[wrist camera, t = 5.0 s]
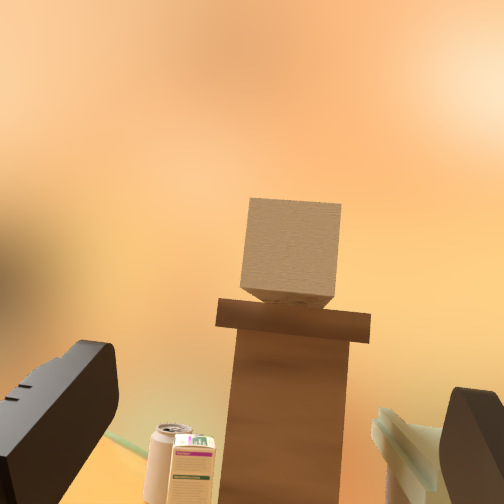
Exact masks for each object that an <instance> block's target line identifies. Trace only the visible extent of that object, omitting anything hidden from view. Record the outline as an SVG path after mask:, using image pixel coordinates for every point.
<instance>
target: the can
mask: <svg viewBox="0 0 504 504" xmlns="http://www.w3.org/2000/svg"><path fill="white" fill-rule="evenodd" d="M156 429H157V430H156V431H155V432H154V433H153V434H152V435H151V440H150V447H149V454H148V461H147V469H146V476H145V483H144V490H143V499H144V500H145V501H146V502H147V504H166V499H167V491H168V483H169V474H170V466H171V457H172V449H173V442H174V438H175V435H176V434H192V431H193V429H192V428H191V427H190V426H187V425H183V424H176V423H164V424H160V425H158V426H157V427H156Z"/></svg>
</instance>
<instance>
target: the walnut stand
mask: <svg viewBox="0 0 504 504" xmlns="http://www.w3.org/2000/svg"><path fill="white" fill-rule="evenodd" d="M370 321H371V314H367V313H358V312H348V311H338V310H328V309H319V308H309V307H299V306H290V305H280V304H270V303H261V302H251V301H241V300H232V299H221V298H219V300H218V308H217V316H216V324H215V326H217V327H218V326H219V327H226V328H235V329H237V337H236V346H235V355H234V364H233V373H232V381H231V390H230V399H229V408H228V417H227V426H226V435H225V444H224V453H223V462H222V471H221V479H220V488H219V497H218V504H338V502H339V488H340V473H341V459H342V444H343V430H344V415H345V401H346V386H347V372H348V357H349V343H350V341H351V342H360V343H368V344H369V338H370Z"/></svg>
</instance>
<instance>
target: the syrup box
mask: <svg viewBox="0 0 504 504" xmlns="http://www.w3.org/2000/svg"><path fill="white" fill-rule="evenodd" d="M215 453H216V448H215V443H214V438H213V437H212V436H208V435H201V434H176V435H175V438H174V442H173V449H172V457H171V466H170V474H169V483H168V491H167V499H166V504H211V496H212V485H213V473H214V463H215Z"/></svg>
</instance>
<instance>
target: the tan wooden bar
mask: <svg viewBox="0 0 504 504" xmlns="http://www.w3.org/2000/svg"><path fill="white" fill-rule="evenodd" d="M340 214H341V204H335V203H320V202H305V201H291V200H276V199H262V198H250V202H249V211H248V220H247V229H246V238H245V246H244V256H243V264H242V273H241V282H240V288H242V289H244V290H245V291H247V292H248V293H250V294H252V295H253V296H255V297H257V298H258V299H260V300H261V301H263V302H264V303H270V304H280V305H290V306H299V307H309V308H319V309H323V308H324V306H326V305H327V303H328V302H329V301H330V300H331V299H332V298H333V297H334V294H335V281H336V268H337V255H338V242H339V229H340V216H341V215H340Z"/></svg>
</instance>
